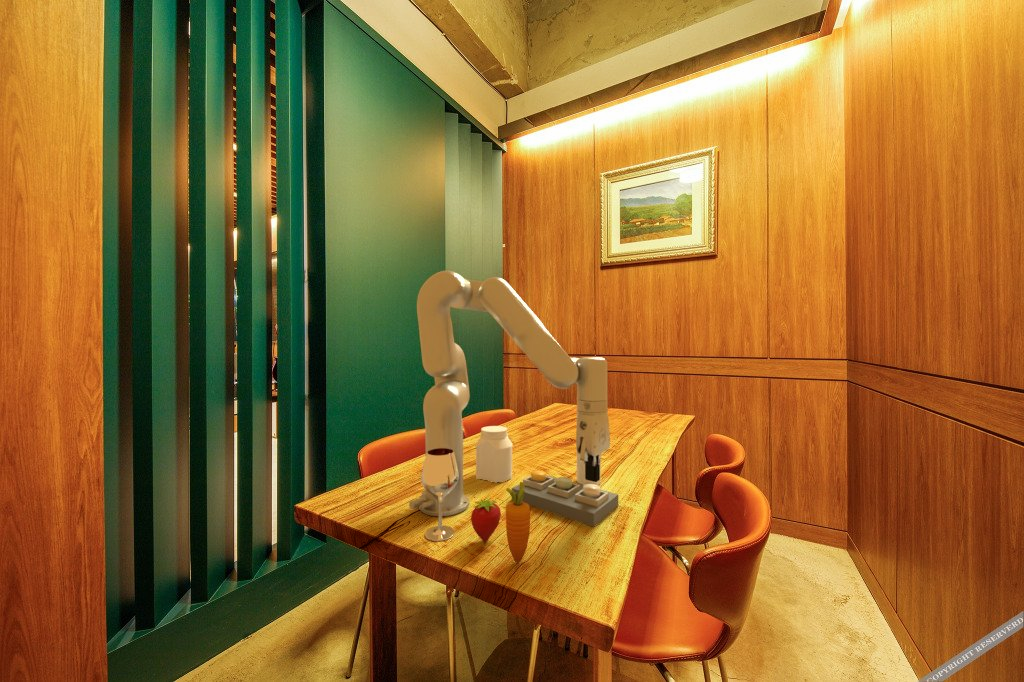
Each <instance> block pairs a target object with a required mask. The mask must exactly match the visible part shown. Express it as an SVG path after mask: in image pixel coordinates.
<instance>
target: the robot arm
mask: <svg viewBox="0 0 1024 682" xmlns="http://www.w3.org/2000/svg"><path fill="white" fill-rule="evenodd" d="M451 308H453V309H458V310H468V311H476V312H485V313H489V314H490V315H491V316H492V318H493V319H495V321H496V322H497V323H498V324H499V325H500V327H501V328H502V329H503V330H504V331H505V333H506V334H507V335H508V336H509V338H510V339H511V340H512V341H513V343H514V345H516V346H517V347H519V348H520V349H521V350H522V351H523V353H524V354H525V355H526V357H528V359H529V360H530V361H531V362H532V364H533V365H534V367H536V368H537V370H539V372H541V374H542V375H543V376H544V378H545V379H546V380H547V382H549V384H550V385H552V386H553V387H555V388H557V389H560V390H564V389H568V388H571V387H573V386H574V385H575V384H576V413H577V412H578V418H577V417H576V433H575V434H576V435H575V445H576V447H575V449H576V453H577V452H578V453H581V454H580V460H582V461H584V464H585V479H586V480H589V481H593V482H597V481H599V480H600V462H601V459H602V453H604V452H606V451H608V450H609V449H610V447H611V437H610V435H611V433H610V422H609V415H608V411H609V410H608V409H609V408H608V405H609V404H608V361H607V360H606V358H604V357H601V356H600V357H599V356H583V357H571V356H570V355H569V354H568V353H567V352H566V351H565V350H564V348H563V347H562V346H561V345H560V344H559V343H558V341H557V340H556V339H555V338H554V337H553V336H552V334H551V333H550V332H549V331H548V330H547V328H546V327H545V326H544V324H543V323H542V321H541V320H540V318H538V316H537V315H536V314H535V313H534V312H533V311H532V309H531V308H530V307H529V306H528V304H527V303H525V302H524V300H523V299H522V298H521V297H520V296H519V294H518V293H517V292H516V291H515V289H513V287H512V286H511V285H510V283H508V281H506V280H505V279H503V278H501V277H499V276H493V277H489V278H487V279H486V280H483V281H482V280H475V279H474V280H473V279H466V278H464V276H462V275H461V274H459V273H457V272H455V271H452V270H442V271H439V272H435V273H434V274H433V275H431V276H430V277H429V278H427V279H426V280H425V282H424V283H423V284H422V286H421V287H420V289H419V292H418V294H417V299H416V313H417V321H418V322H417V323H418V329H419V330H418V332H419V341H420V349H421V361H422V367H423V368H424V369H423V370H425V373H426V374H428V375H429V376H431V377H433V378H434V385H433V386H432V387H431V388H430V389H428V391H427V392H426V394H425V395H424V398H423V403H422V404H423V405H422V407H423V409H422V410H423V418H424V428H425V432H424V433H425V434H424V435H425V456H426V455H427V452H428V451H429V450H432V449H437V448H448V449H452V450H453V451H454V455H455V458H456V462H457V466H458V471H459V480H458V483H457V485H456V486H455V488H454V489H453V490H452V491H451V492H450V493H449V494H448V495H447V496H445V498H444V499H443V501H442V517H448V516H454V515H457V514H460V513H462V512H464V511H465V510H467V509H468V507H469V505H470V499H469V497H468V496H467V495H466V494H464V488H463V487H464V427H463V425H464V424H463V417H462V415H463V411H464V409H465V408H466V407H467V406H468V404H469V401H470V397H471V395H470V385H469V384H470V383H469V376H468V367H467V361H466V356H465V353H464V350H463V349H462V348H461V346H460V345H459V344H457V343H456V342H455V338H454V329H453V327H454V326H453V322H452V317H451ZM408 507H409V508H410V510H414V509H417V508H419V510H420V512H421V513H423V514H425V515H428V516H433V517H438V500H437V499H436V498H435V497H434V496H433V495H431V494H430V493H429V492H428V491H427V490H426V489H425V488H424V490H422V491H421V495H420V496H419V498H415V499H413V500H411V501H409V502H408Z"/></svg>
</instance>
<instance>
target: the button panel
mask: <svg viewBox="0 0 1024 682" xmlns="http://www.w3.org/2000/svg"><path fill="white" fill-rule="evenodd" d="M556 478H557V477H555V476H550V475H547V474H546V480H545V481H543V482H536V481H533V480H531V475H530V476H528V477H526V478H523V479H522V482H523V483H524V489H525V492H524V494H523V498H522V501H523V502H525V503H527V504H528V505H529V507H533V508H536V507H537V509H539V508H540V510H542V511H545V512H548V513H550V514H554V515H556V516H560V517H563V518H566V519H569V520H571V521H572V520H573V521H575V522H579V523H581V524H585V525H587V526H589V527H593V528H594V527H595V525H596V524H600V523H601V521H603V520H604V519H605V518H606V517H607V516H608V515H610V514H611V513H612V512H613V511H614V510H615V509H617V508H618V507H619V494H617V493H614V492H610V491H607V490H603V489H600V496H598V497H589V496H586V495H584V494H583V486H584V485H582V484H580V483H578V482H573V481H572V487H571V488H569V489H561V488H558V487H556ZM519 486H520V483H519V484H518V485H515V486H513V487H511V490H513V491H514V493H517V498H518V494H519ZM512 499H513V498H512V497H511V500H512ZM616 507H617V508H616ZM612 510H613V511H612ZM611 511H612V512H611ZM610 512H611V513H610ZM609 513H610V514H609ZM604 517H605V518H604ZM603 518H604V519H603ZM602 519H603V520H602ZM596 526H597V525H596Z"/></svg>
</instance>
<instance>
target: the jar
mask: <svg viewBox="0 0 1024 682" xmlns="http://www.w3.org/2000/svg"><path fill="white" fill-rule="evenodd" d="M475 457H476V458H475V478H477V479H483V480H482V481H484V480H488V481H487V482H489V481H492V482H495V483H494V484H498V483H497V482H502V483H505V482H504V481H506V482H508V481H510V480H512V478H513V442H512V441H511V440H510V438H509V436H508V428H507V427H505V426H501V425H489V426H484V427H481V429H480V438H479V439H478V440H477V442H476V443H475ZM477 479H476V480H477ZM509 479H510V480H509ZM507 480H508V481H507ZM492 482H491V483H492Z"/></svg>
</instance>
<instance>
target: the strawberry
mask: <svg viewBox="0 0 1024 682" xmlns="http://www.w3.org/2000/svg"><path fill="white" fill-rule="evenodd" d="M489 496H490V495H489V494H488V495H487V496H486V497H485V498H484V500H482V499H481V500H480V501H474V503H476V504H478V505H475V506H474V509H473V510H472V512H471V516H470V521H471V525H472V528H473V530H474V532H475V533H476V535H477V536H478V537H479V538H480V539H481V541H482V542H483V543H487V542H488V541H489V540H490V538H491V536H492V535H493V534H494V533H495V530H496V529H497V528H498V526H499V524H500V520H501V516H502V511H501V508H500V506H499V505H498V504H496V503H497V501H496V500H495V501H493V500H491V498H488V497H489ZM487 498H488V499H487ZM486 499H487V500H486Z"/></svg>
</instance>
